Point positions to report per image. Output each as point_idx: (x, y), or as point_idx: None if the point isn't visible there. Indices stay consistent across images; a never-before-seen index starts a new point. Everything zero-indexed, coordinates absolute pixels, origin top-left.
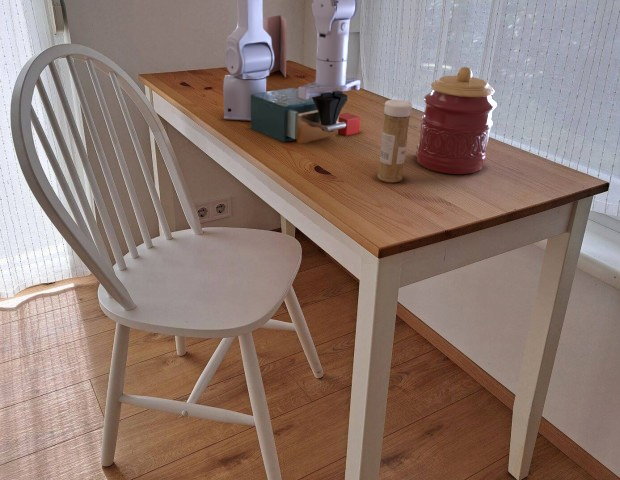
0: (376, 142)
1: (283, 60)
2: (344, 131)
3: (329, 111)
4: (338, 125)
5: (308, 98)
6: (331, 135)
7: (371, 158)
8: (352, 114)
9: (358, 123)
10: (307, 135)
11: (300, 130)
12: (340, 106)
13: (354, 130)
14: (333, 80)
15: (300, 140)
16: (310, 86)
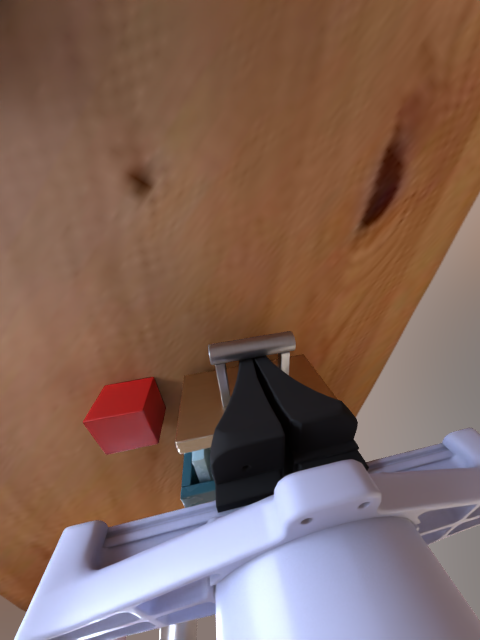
0: (90, 309)
1: None
2: (153, 388)
3: (301, 383)
4: (244, 345)
5: (456, 433)
6: (207, 372)
7: (191, 190)
8: (97, 442)
9: (98, 404)
10: (289, 367)
11: (318, 374)
12: (246, 403)
13: (120, 388)
14: (442, 602)
15: (306, 358)
16: (473, 519)
